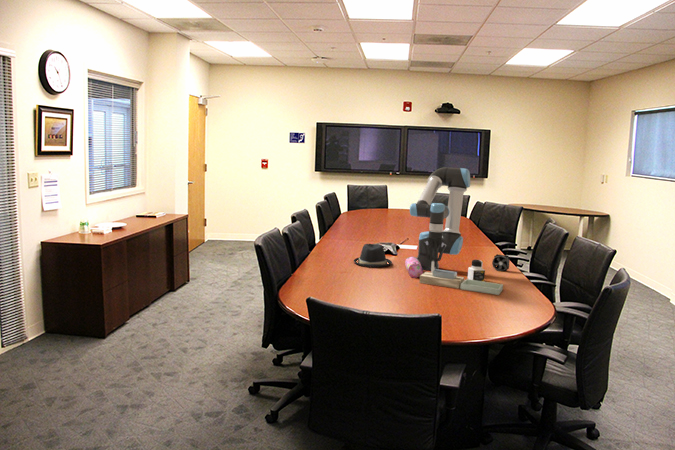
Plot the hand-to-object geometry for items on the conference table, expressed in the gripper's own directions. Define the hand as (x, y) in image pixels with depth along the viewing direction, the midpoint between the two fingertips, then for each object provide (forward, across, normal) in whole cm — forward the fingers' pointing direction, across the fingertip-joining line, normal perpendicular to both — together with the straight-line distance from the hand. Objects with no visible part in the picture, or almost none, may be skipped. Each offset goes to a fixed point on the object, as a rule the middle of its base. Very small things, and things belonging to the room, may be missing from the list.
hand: (432, 272), depth 288 cm
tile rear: (+2, +4, 0) cm, 4 cm away
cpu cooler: (+6, +28, +57) cm, 63 cm away
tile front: (+2, +10, 0) cm, 10 cm away
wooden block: (+6, +5, 0) cm, 8 cm away
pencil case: (+6, -16, +13) cm, 21 cm away
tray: (+6, +27, +1) cm, 28 cm away
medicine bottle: (+6, +20, +20) cm, 29 cm away
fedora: (+6, -47, +25) cm, 54 cm away
